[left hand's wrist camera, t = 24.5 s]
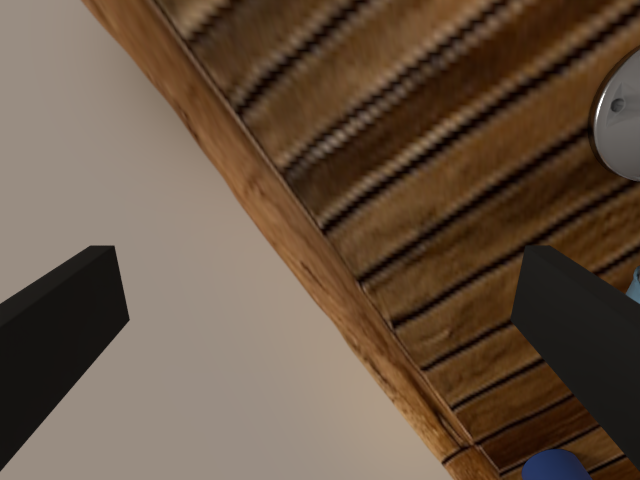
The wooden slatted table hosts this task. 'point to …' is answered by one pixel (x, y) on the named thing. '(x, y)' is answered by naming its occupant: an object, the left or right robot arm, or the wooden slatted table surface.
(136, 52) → the wooden slatted table surface
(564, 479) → the cylinder
